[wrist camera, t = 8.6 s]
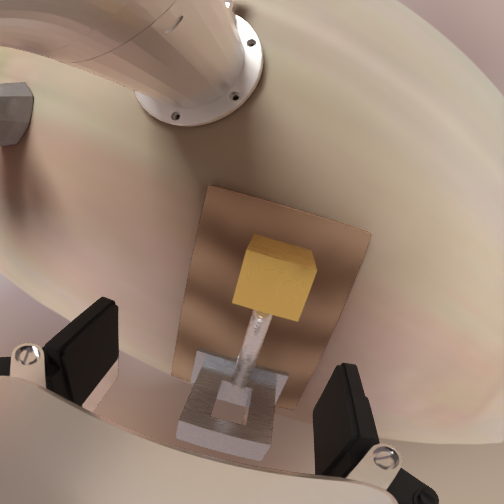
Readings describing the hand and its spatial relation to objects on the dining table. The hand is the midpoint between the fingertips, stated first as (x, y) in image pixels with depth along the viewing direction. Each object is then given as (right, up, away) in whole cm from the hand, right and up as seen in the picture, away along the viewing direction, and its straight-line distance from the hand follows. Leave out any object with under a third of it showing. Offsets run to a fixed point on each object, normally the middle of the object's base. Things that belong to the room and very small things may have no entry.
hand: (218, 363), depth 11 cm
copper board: (+2, -2, +18) cm, 18 cm away
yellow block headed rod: (+2, -1, +15) cm, 15 cm away
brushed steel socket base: (0, -9, +20) cm, 22 cm away
